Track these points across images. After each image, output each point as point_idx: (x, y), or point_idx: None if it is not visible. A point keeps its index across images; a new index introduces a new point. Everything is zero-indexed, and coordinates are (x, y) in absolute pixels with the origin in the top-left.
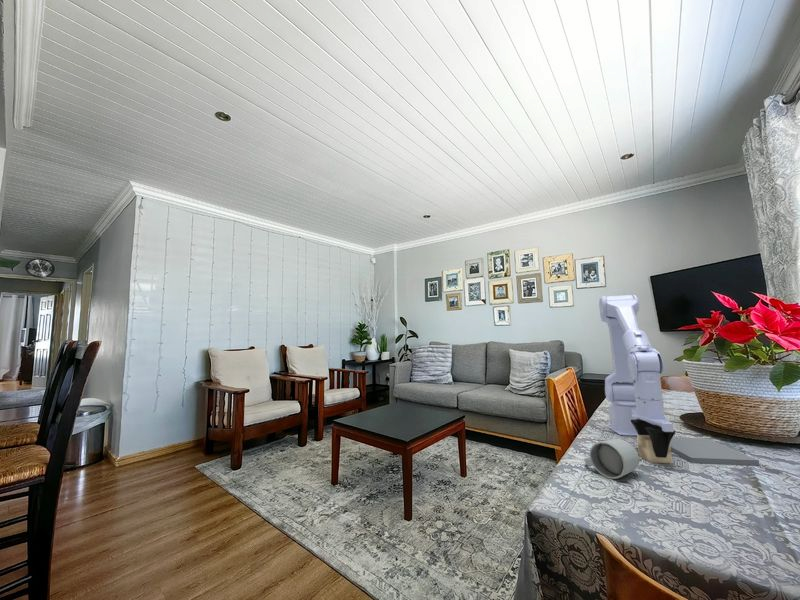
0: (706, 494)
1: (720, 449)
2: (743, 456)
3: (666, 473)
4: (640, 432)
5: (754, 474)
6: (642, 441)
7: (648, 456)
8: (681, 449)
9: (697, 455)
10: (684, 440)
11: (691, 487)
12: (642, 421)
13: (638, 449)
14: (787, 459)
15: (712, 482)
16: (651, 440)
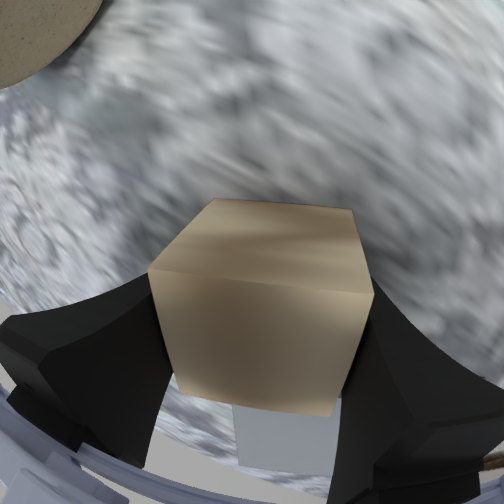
0: (6, 224)
1: (319, 464)
2: (263, 464)
3: (87, 197)
4: (374, 350)
5: (177, 418)
6: (256, 260)
7: (209, 210)
8: (335, 410)
9: (261, 412)
10: None
11: (22, 213)
12: (364, 489)
13: (350, 223)
14: (284, 484)
15: (73, 298)
16: (139, 300)
